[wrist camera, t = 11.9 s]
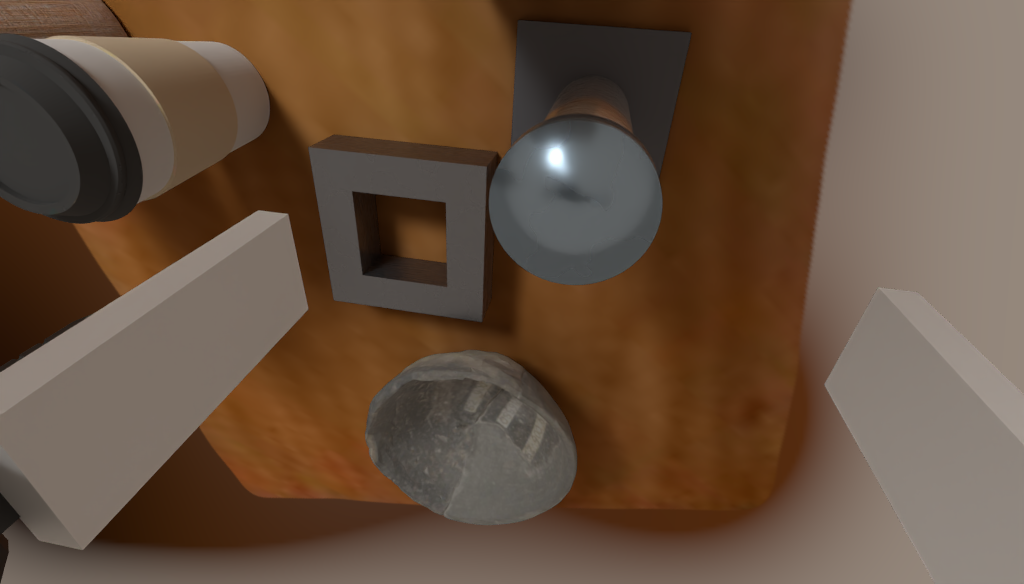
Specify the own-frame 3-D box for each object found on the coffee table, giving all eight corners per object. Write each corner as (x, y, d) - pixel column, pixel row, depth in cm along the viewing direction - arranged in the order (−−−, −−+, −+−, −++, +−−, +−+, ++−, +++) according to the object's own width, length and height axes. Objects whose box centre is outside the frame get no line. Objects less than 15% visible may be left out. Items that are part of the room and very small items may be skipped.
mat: (519, 19, 29) (517, 20, 28) (690, 32, 28) (691, 32, 27) (510, 181, 34) (509, 183, 34) (653, 197, 33) (654, 200, 32)
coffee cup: (309, 110, 34) (131, 175, 21) (240, 180, 38) (55, 271, 25) (206, -10, 31) (-73, -17, 18) (143, 80, 35) (-123, 125, 22)
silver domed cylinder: (547, 60, 29) (491, 112, 15) (648, 68, 28) (681, 130, 15) (539, 158, 32) (486, 273, 19) (629, 168, 32) (642, 295, 18)
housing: (333, 134, 34) (308, 147, 31) (497, 151, 33) (486, 166, 30) (353, 278, 41) (333, 300, 38) (491, 298, 39) (482, 322, 36)
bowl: (543, 480, 50) (533, 555, 43) (384, 424, 50) (349, 490, 43) (613, 358, 40) (614, 430, 34) (416, 288, 40) (378, 346, 33)
